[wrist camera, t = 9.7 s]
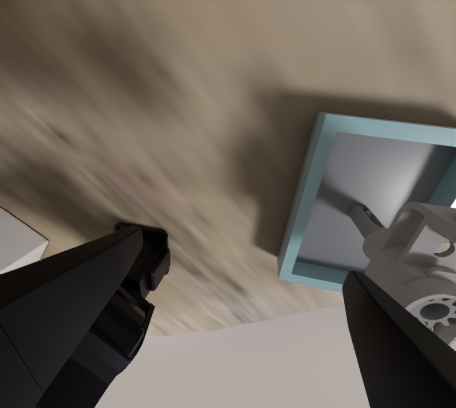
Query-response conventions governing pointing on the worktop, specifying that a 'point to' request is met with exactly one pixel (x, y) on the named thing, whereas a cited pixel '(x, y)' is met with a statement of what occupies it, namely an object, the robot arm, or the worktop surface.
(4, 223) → the milk carton
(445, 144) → the tray
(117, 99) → the worktop surface
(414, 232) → the mechanical component
